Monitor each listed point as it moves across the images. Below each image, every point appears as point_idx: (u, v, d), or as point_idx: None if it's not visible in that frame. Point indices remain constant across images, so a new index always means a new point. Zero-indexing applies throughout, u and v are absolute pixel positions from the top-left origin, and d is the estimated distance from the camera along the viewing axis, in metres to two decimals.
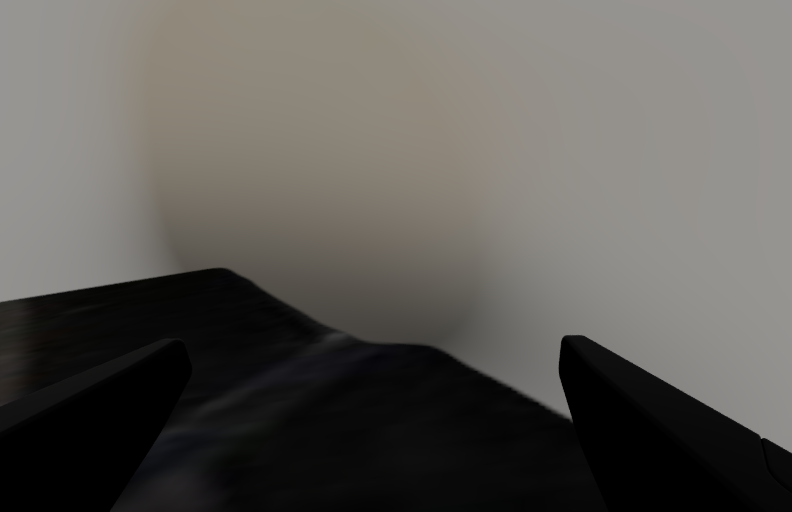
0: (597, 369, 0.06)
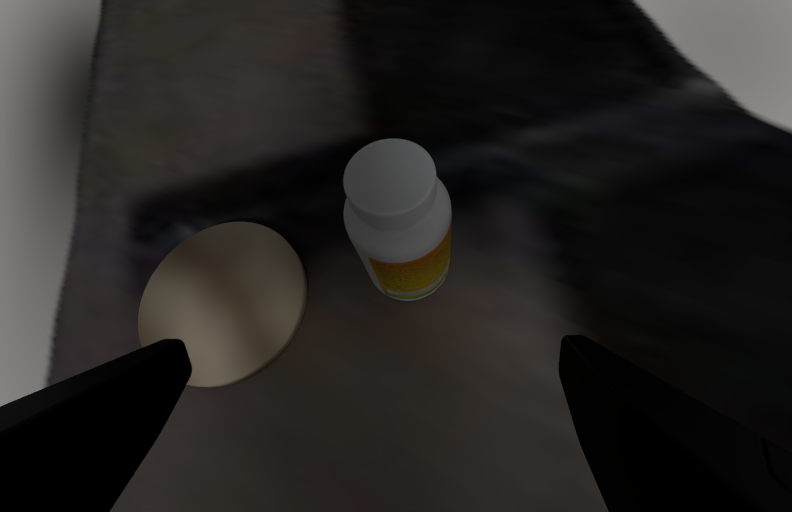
0: (597, 369, 0.06)
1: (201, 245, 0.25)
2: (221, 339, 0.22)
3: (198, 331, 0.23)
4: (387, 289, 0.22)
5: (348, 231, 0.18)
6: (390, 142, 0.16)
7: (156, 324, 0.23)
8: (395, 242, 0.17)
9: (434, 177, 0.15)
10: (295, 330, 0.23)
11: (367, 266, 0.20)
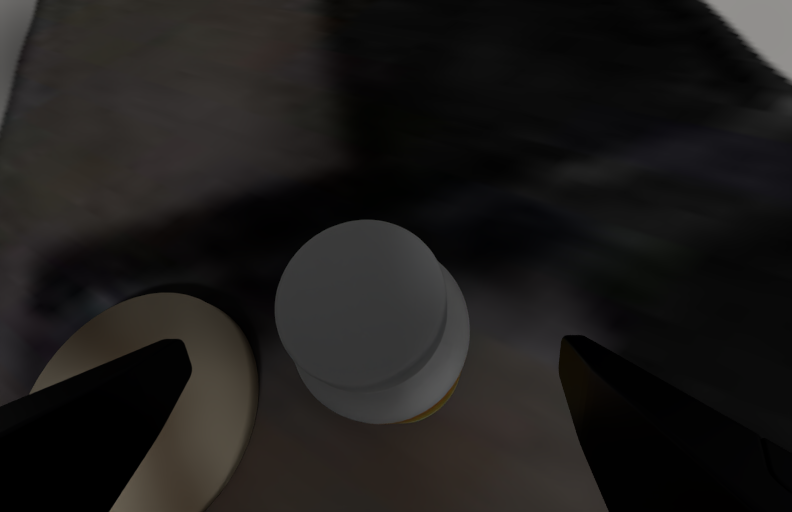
0: (597, 369, 0.06)
1: (114, 327, 0.18)
2: None
3: None
4: None
5: (296, 366, 0.10)
6: (364, 227, 0.09)
7: None
8: (373, 401, 0.09)
9: (443, 305, 0.08)
10: (236, 464, 0.16)
11: None
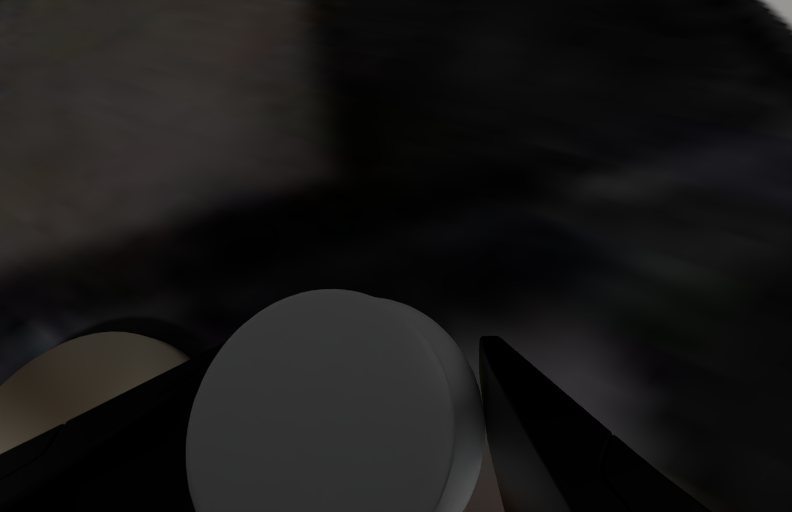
0: (493, 369, 0.07)
1: (52, 374, 0.15)
2: None
3: None
4: None
5: None
6: (329, 303, 0.06)
7: None
8: None
9: (450, 443, 0.05)
10: None
11: None
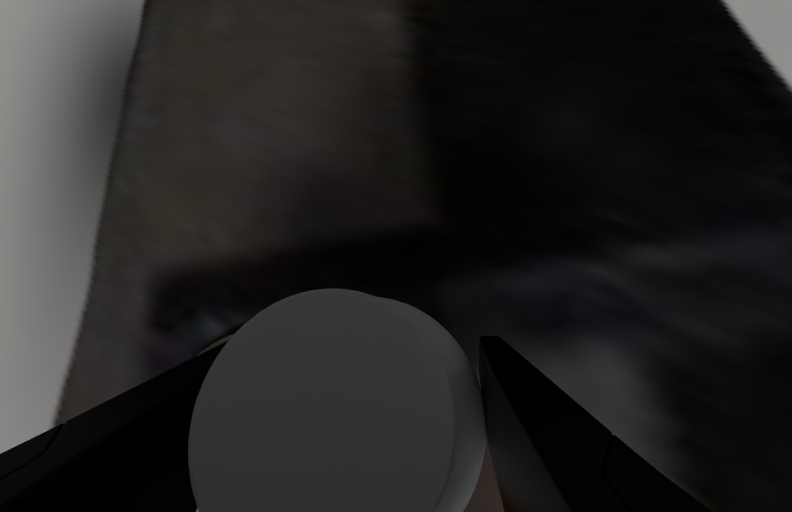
0: (493, 369, 0.06)
1: None
2: None
3: None
4: None
5: None
6: (330, 302, 0.06)
7: None
8: None
9: (451, 442, 0.05)
10: None
11: None
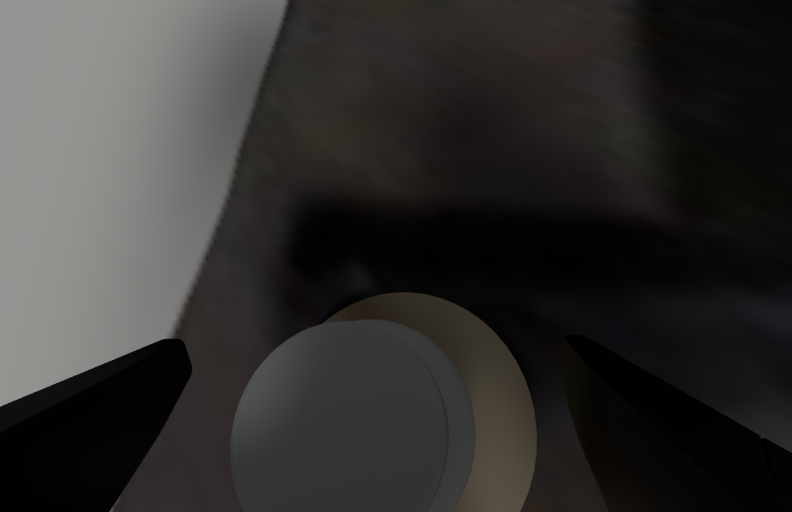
0: (597, 369, 0.06)
1: (386, 317, 0.17)
2: None
3: None
4: None
5: None
6: (345, 333, 0.07)
7: None
8: None
9: (443, 452, 0.06)
10: None
11: None
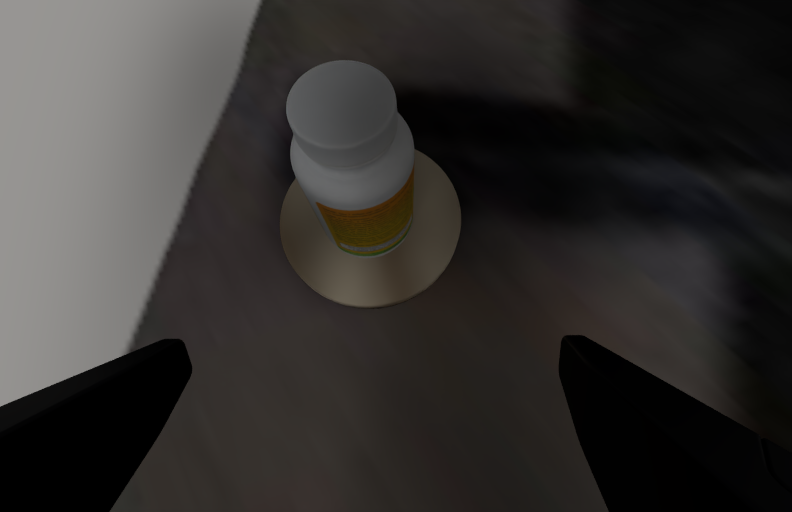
0: (597, 369, 0.06)
1: None
2: (361, 260, 0.21)
3: None
4: (340, 243, 0.20)
5: (294, 169, 0.15)
6: (346, 64, 0.14)
7: (299, 217, 0.22)
8: (345, 185, 0.14)
9: (393, 109, 0.13)
10: (434, 281, 0.22)
11: (317, 214, 0.18)
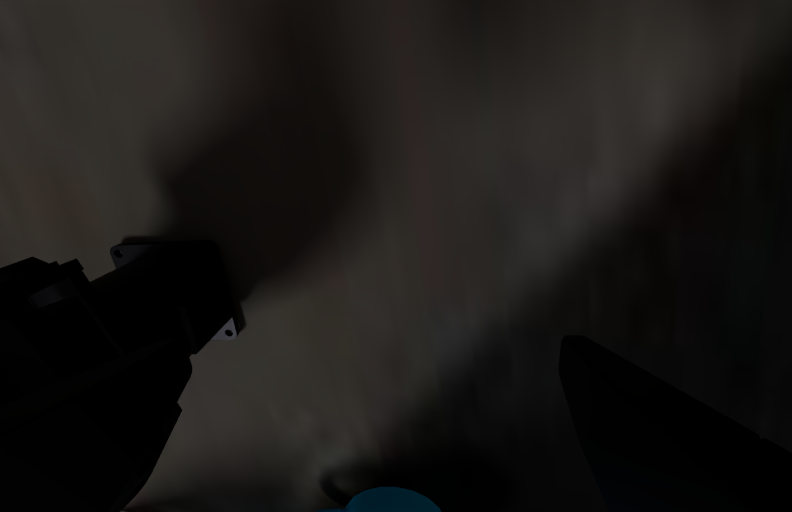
0: (597, 369, 0.06)
1: None
2: None
3: None
4: None
5: None
6: None
7: None
8: None
9: None
10: None
11: None
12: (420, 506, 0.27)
